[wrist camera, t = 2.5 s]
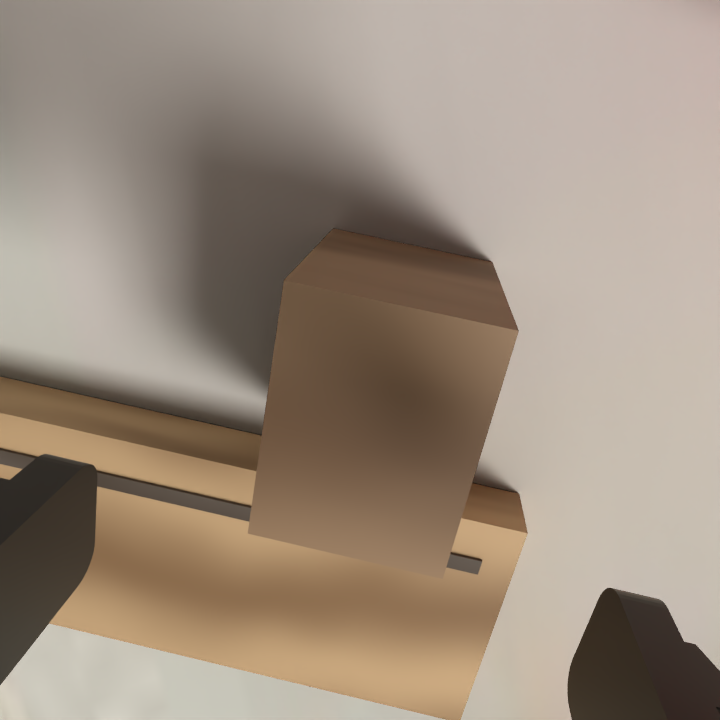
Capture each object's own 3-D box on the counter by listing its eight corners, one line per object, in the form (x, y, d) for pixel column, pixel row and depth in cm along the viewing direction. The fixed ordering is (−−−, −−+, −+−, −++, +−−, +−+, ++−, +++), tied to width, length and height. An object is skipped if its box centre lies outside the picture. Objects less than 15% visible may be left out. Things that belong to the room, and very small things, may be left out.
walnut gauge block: (333, 228, 17) (283, 280, 12) (491, 261, 17) (518, 330, 11) (301, 415, 19) (247, 533, 14) (441, 446, 19) (442, 579, 14)
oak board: (-249, 320, 20) (-321, 341, 18) (519, 493, 19) (527, 535, 17) (-207, 513, 23) (-265, 549, 22) (457, 672, 22) (459, 725, 20)
